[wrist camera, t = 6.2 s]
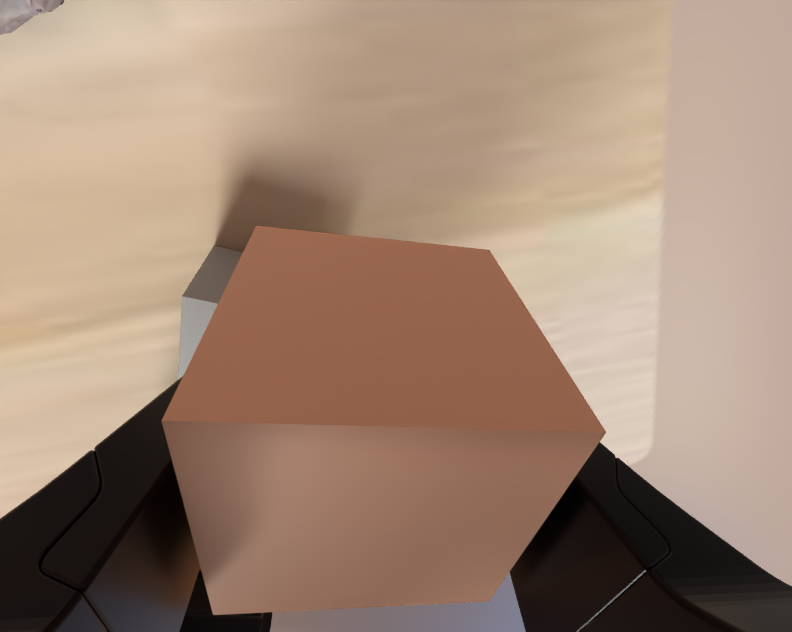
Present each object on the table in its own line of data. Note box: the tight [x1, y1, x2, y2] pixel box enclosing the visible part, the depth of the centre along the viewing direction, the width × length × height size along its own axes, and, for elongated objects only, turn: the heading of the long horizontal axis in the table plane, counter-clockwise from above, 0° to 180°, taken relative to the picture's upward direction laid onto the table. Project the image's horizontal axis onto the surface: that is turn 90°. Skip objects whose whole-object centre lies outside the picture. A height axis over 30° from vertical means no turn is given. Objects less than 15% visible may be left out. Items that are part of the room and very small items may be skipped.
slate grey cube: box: [178, 245, 243, 380], centre depth 21 cm, size 5×5×5 cm
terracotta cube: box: [162, 226, 606, 615], centre depth 8 cm, size 5×5×5 cm
